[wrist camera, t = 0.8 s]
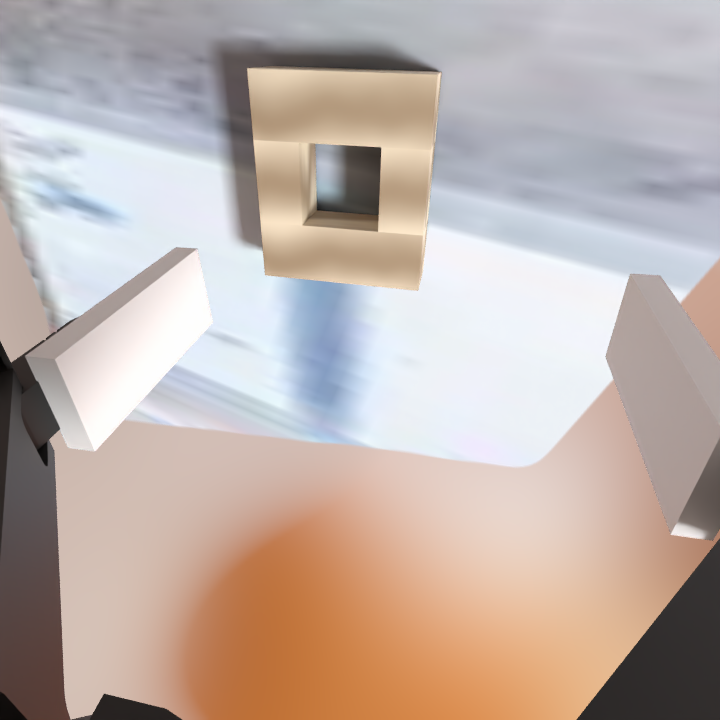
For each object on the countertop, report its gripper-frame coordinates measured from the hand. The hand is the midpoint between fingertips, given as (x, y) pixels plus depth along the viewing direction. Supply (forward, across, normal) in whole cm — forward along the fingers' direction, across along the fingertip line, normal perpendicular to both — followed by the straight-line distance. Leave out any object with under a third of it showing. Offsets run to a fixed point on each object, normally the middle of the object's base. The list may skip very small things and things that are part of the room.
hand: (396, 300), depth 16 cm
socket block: (+24, -7, -2) cm, 25 cm away
